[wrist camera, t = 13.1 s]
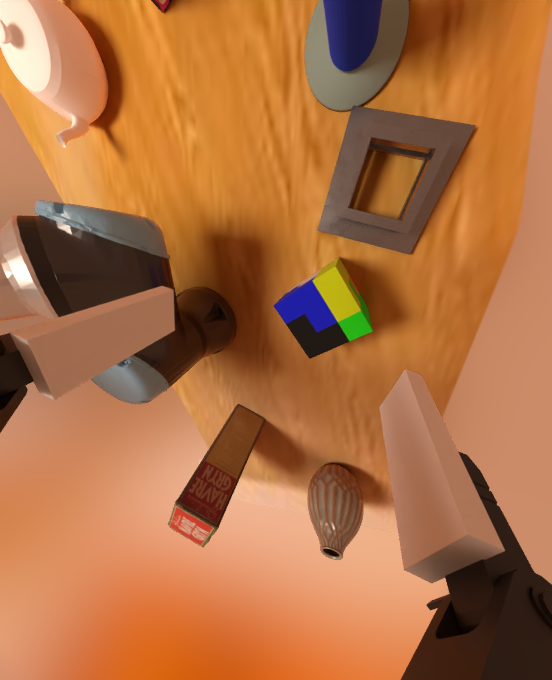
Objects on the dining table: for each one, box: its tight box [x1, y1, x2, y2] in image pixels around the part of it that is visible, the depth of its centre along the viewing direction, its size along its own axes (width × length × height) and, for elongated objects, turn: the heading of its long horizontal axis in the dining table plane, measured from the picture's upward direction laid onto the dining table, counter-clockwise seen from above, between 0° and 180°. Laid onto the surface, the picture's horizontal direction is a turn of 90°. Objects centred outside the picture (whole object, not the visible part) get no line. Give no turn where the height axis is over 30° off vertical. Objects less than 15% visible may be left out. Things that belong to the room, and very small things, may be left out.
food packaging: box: [168, 404, 265, 547], centre depth 51 cm, size 13×9×25 cm
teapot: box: [0, 0, 108, 148], centre depth 30 cm, size 20×12×10 cm, turn 4°
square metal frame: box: [318, 106, 476, 254], centre depth 28 cm, size 14×14×5 cm
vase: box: [307, 464, 364, 560], centre depth 51 cm, size 13×13×18 cm
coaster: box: [305, 0, 409, 112], centre depth 25 cm, size 11×11×1 cm
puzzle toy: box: [274, 258, 373, 359], centre depth 34 cm, size 10×10×10 cm
